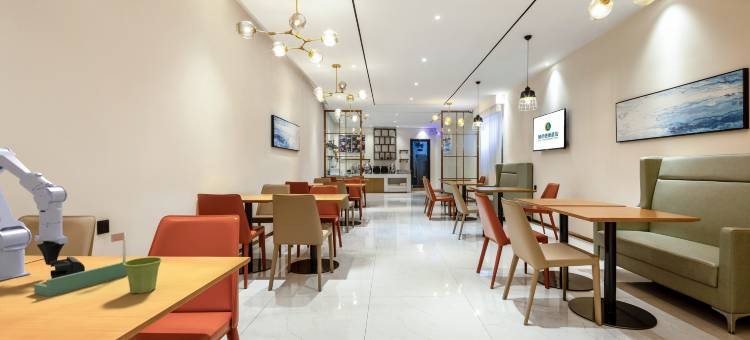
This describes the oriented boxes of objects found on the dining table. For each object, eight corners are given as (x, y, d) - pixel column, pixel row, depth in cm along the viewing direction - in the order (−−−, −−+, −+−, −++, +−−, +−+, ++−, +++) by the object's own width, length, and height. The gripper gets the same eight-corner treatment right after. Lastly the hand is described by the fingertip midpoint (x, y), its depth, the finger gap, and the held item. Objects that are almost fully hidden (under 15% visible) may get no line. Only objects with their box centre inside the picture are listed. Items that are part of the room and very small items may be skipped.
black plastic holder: (85, 280, 113) (85, 259, 113) (55, 286, 107) (55, 264, 107) (78, 274, 119) (78, 254, 119) (50, 279, 114) (50, 258, 114)
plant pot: (166, 290, 103) (166, 260, 103) (127, 298, 96) (127, 267, 96) (156, 283, 109) (156, 255, 109) (119, 291, 102) (119, 261, 102)
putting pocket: (34, 293, 101) (34, 242, 101) (116, 272, 122) (116, 230, 122) (49, 296, 98) (49, 244, 98) (130, 274, 119) (130, 231, 119)
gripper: (22, 223, 116) (23, 265, 115) (49, 225, 110) (49, 269, 110) (49, 221, 122) (49, 260, 122) (75, 222, 117) (75, 263, 117)
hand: (51, 264), depth 117 cm, fingers closed
